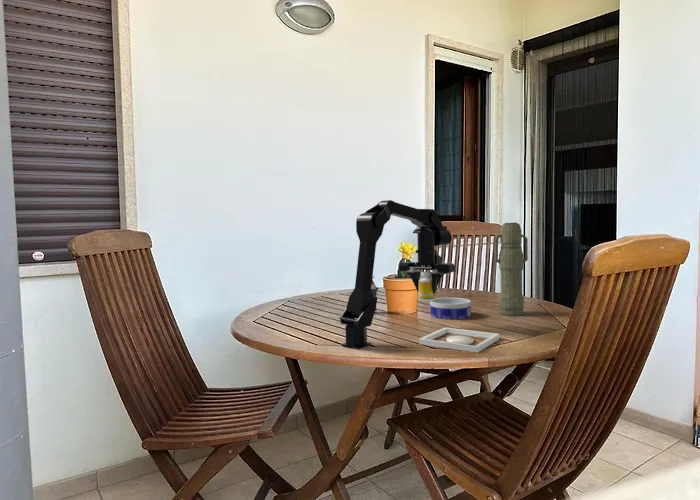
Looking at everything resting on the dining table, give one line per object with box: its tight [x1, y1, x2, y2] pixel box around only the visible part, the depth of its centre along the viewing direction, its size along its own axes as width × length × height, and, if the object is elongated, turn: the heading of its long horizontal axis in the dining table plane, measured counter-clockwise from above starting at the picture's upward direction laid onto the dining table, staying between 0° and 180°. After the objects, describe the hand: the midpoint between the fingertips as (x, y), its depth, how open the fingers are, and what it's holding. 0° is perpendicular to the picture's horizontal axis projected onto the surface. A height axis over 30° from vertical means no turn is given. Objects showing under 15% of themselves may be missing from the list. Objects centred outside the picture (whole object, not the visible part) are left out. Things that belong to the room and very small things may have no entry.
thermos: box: [494, 222, 529, 317], centre depth 181 cm, size 9×12×35 cm
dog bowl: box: [429, 297, 472, 321], centre depth 182 cm, size 15×15×6 cm
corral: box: [418, 327, 501, 353], centre depth 142 cm, size 18×18×2 cm
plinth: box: [445, 335, 475, 345], centre depth 142 cm, size 8×8×1 cm
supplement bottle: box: [418, 270, 436, 302], centre depth 160 cm, size 5×5×10 cm
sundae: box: [371, 275, 380, 315], centre depth 191 cm, size 7×7×15 cm
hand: (426, 292), depth 160 cm, fingers closed on supplement bottle, 5 cm apart
